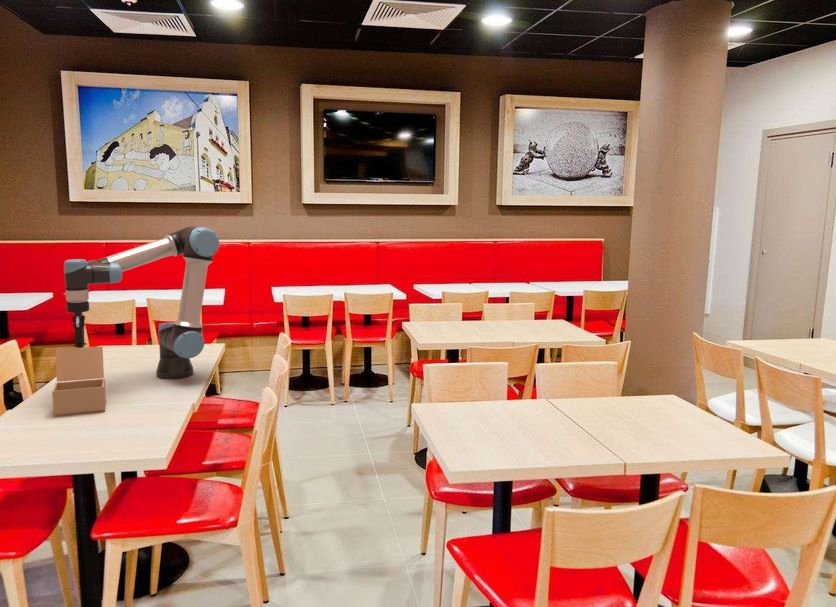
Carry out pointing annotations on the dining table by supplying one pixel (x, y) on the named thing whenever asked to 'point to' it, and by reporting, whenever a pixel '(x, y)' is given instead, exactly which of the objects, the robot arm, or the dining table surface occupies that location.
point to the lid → (79, 363)
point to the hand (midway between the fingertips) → (81, 362)
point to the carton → (79, 397)
